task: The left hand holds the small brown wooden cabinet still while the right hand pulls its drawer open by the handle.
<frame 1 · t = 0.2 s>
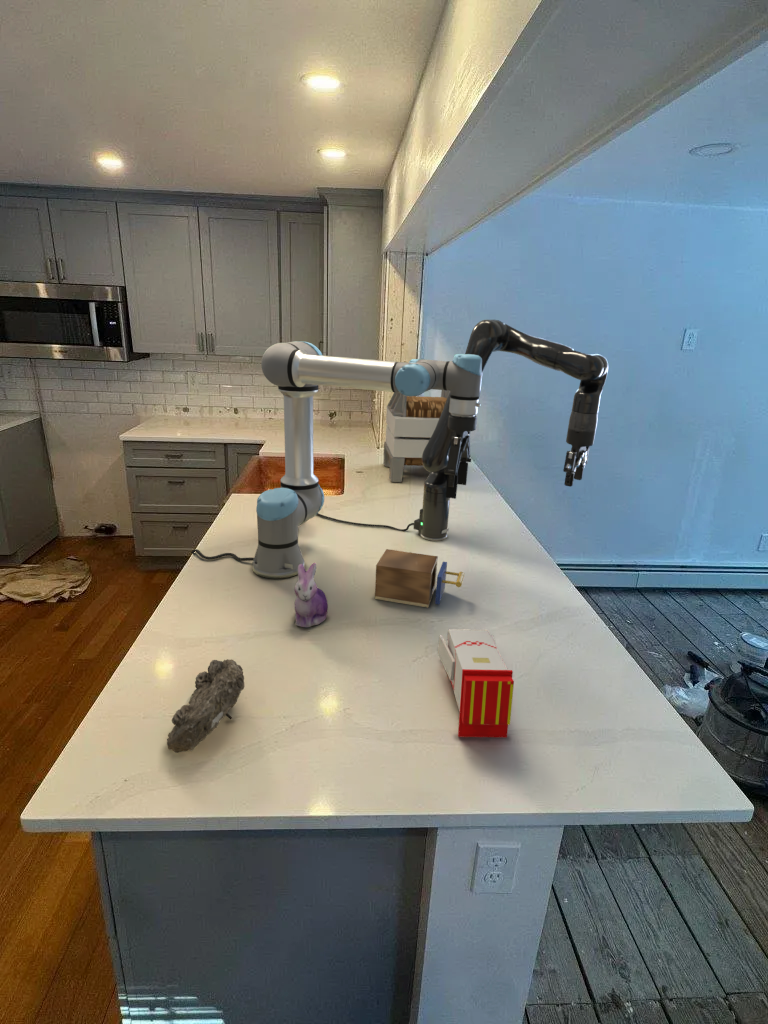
left hand: (456, 490, 158), 28 cm above the counter, tool pointing down, fingers open, 13 cm apart
right hand: (573, 482, 165), 29 cm above the counter, tool pointing down, fingers open, 8 cm apart
drawer: (428, 580, 155), point 5 cm above the counter, slide at 1.6 cm
figurine: (310, 619, 143), on the counter
fossil: (212, 717, 108), on the counter
toy: (469, 691, 119), on the counter
cabinet: (405, 593, 158), on the counter
transformer: (419, 473, 275), on the counter
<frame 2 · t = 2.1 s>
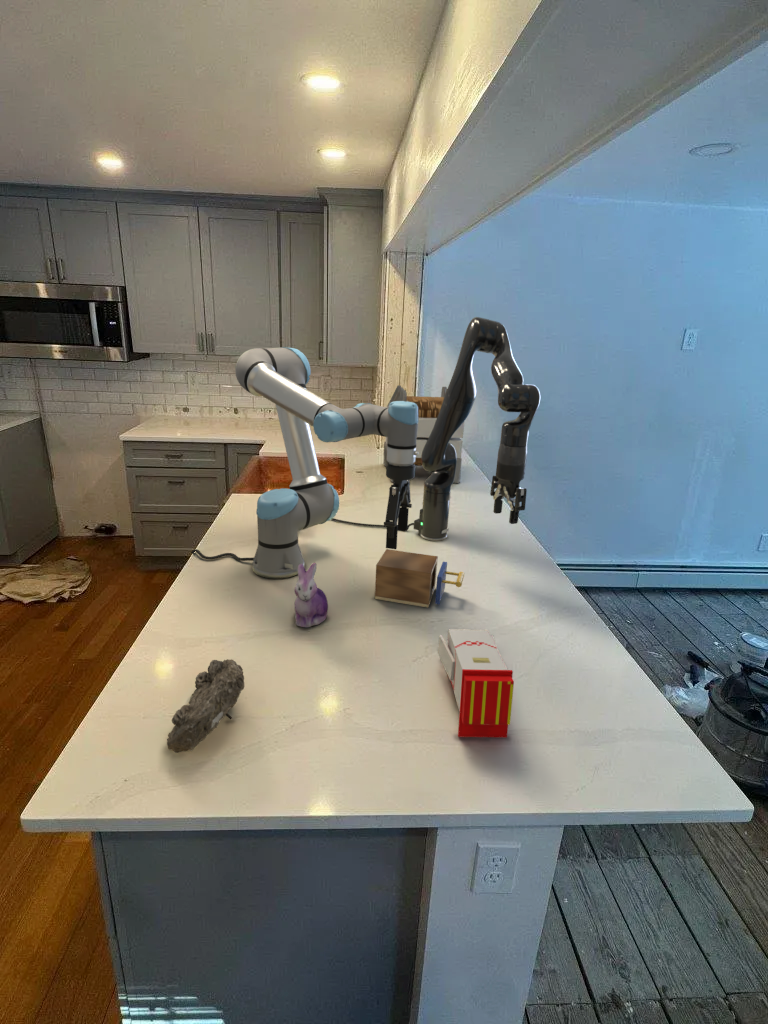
left hand: (397, 538, 153), 16 cm above the counter, tool pointing down, fingers open, 13 cm apart
right hand: (504, 518, 156), 22 cm above the counter, tool pointing down, fingers open, 8 cm apart
nothing on the counter moved.
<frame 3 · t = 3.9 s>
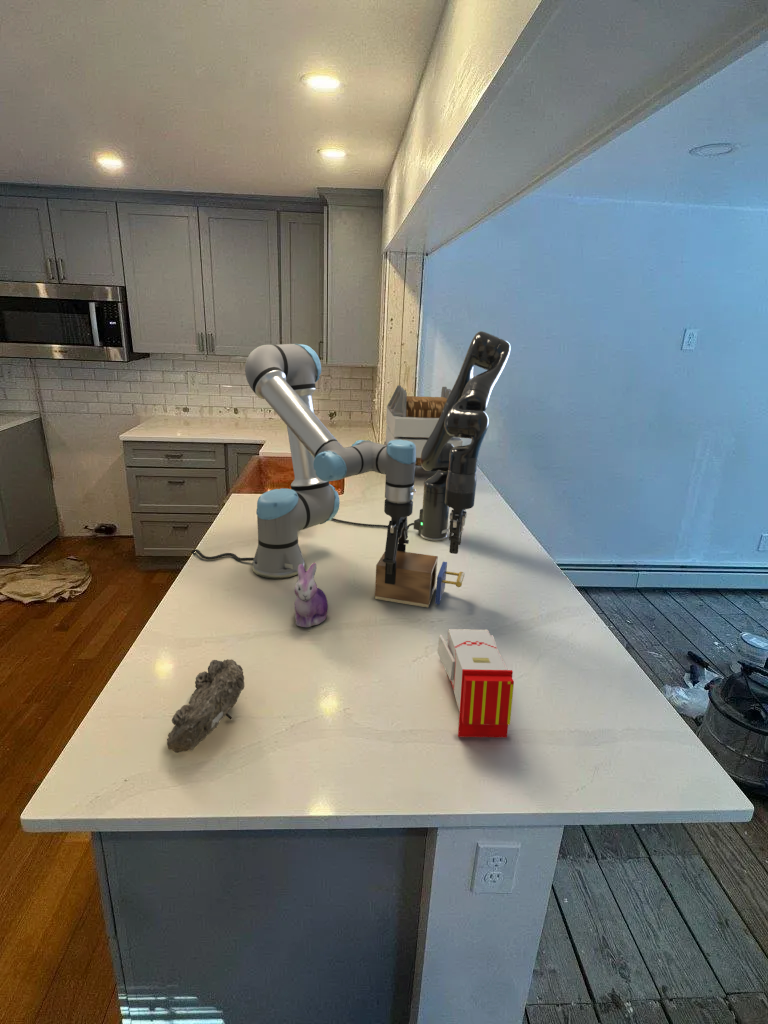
left hand: (394, 574, 157), 6 cm above the counter, tool pointing down, fingers closed on cabinet, 11 cm apart
right hand: (455, 548, 150), 16 cm above the counter, tool pointing down, fingers open, 5 cm apart
cabinet: (405, 593, 158), on the counter, touching left hand
everything else where it was.
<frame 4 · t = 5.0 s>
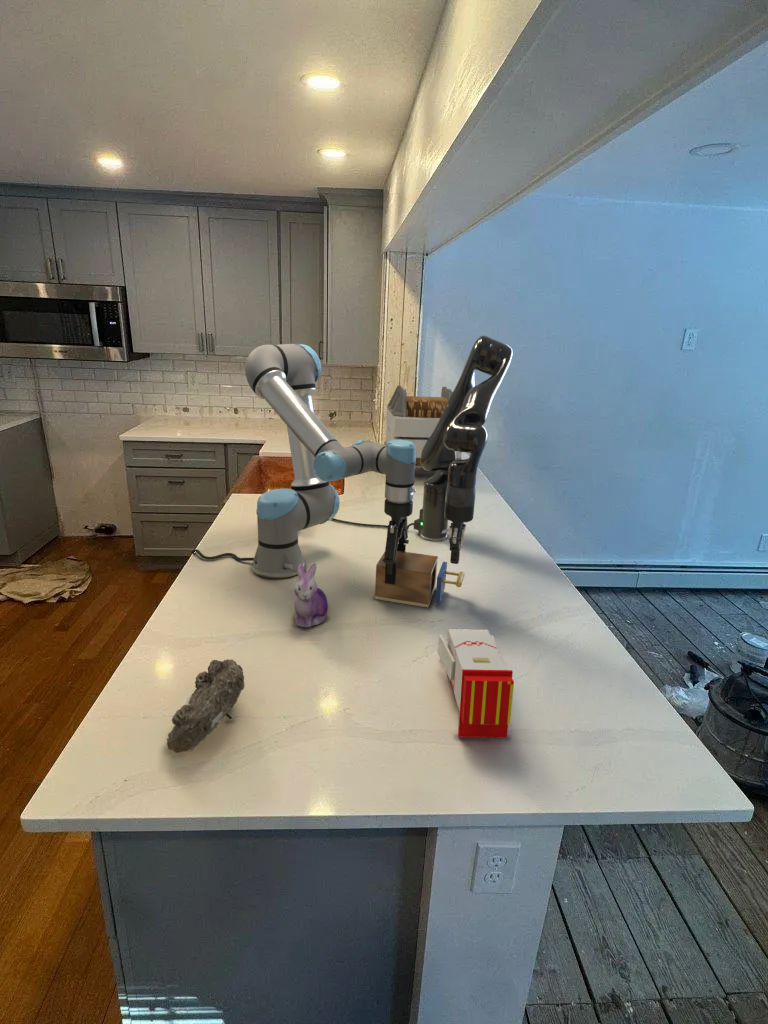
left hand: (394, 574, 157), 6 cm above the counter, tool pointing down, fingers closed on cabinet, 11 cm apart
right hand: (454, 562, 151), 12 cm above the counter, tool pointing down, fingers closed
cabinet: (405, 593, 158), on the counter, touching left hand
everything else where it was.
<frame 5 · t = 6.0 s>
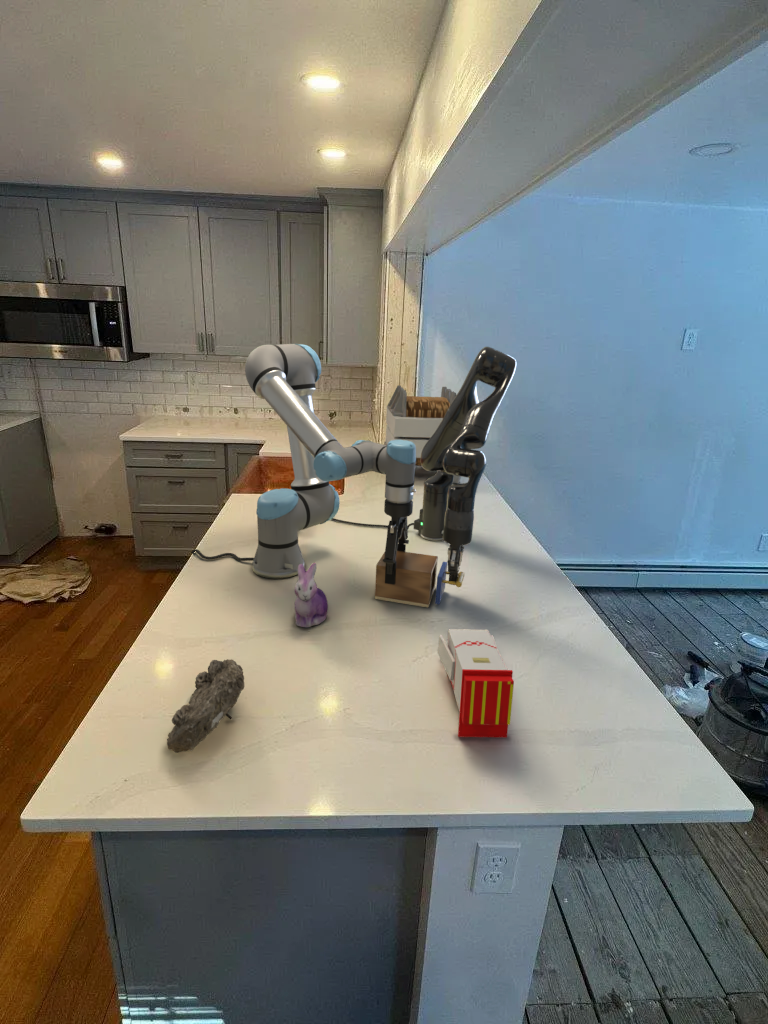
left hand: (395, 574, 157), 6 cm above the counter, tool pointing down, fingers closed on cabinet, 11 cm apart
right hand: (452, 583, 154), 5 cm above the counter, tool pointing down, fingers closed
drawer: (428, 580, 155), point 5 cm above the counter, slide at 1.6 cm, touching right hand
cabinet: (405, 593, 158), on the counter, touching left hand
everything else where it was.
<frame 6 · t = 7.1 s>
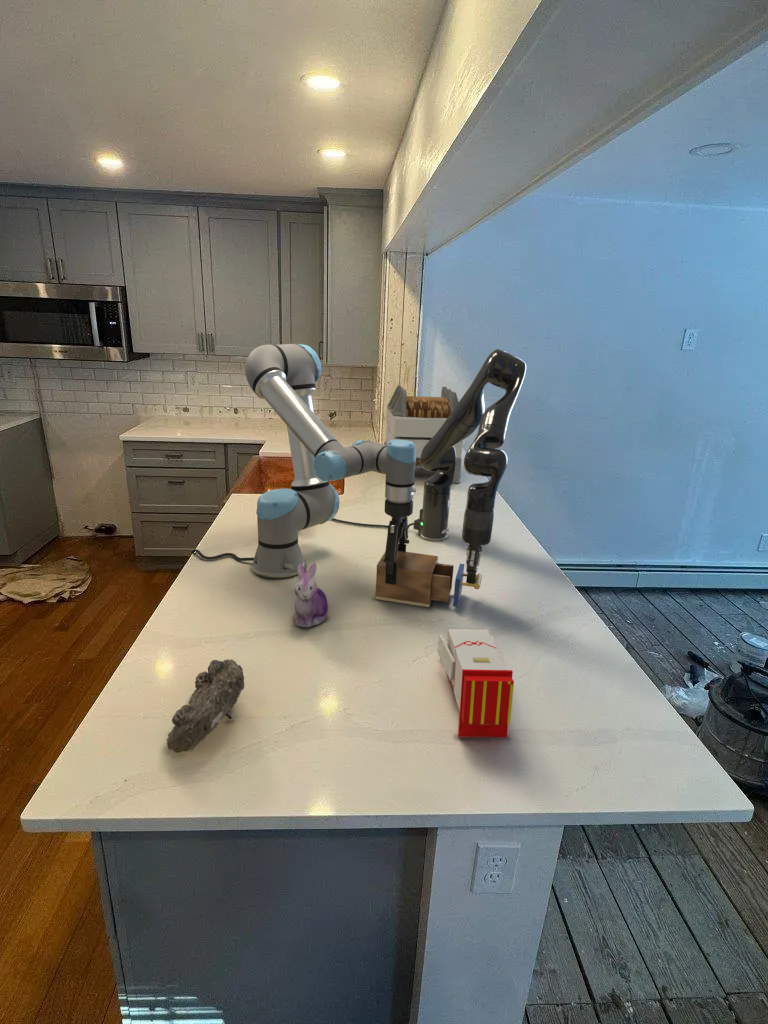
left hand: (395, 574, 157), 6 cm above the counter, tool pointing down, fingers closed on cabinet, 11 cm apart
right hand: (470, 583, 152), 6 cm above the counter, tool pointing down, fingers closed
drawer: (445, 582, 154), point 5 cm above the counter, slide at 6.2 cm
cabinet: (406, 593, 158), on the counter, touching left hand
everything else where it was.
when the left hand's fingers open (6 cm above the counter, at t = 8.5 s): cabinet stays where it is, on the counter.
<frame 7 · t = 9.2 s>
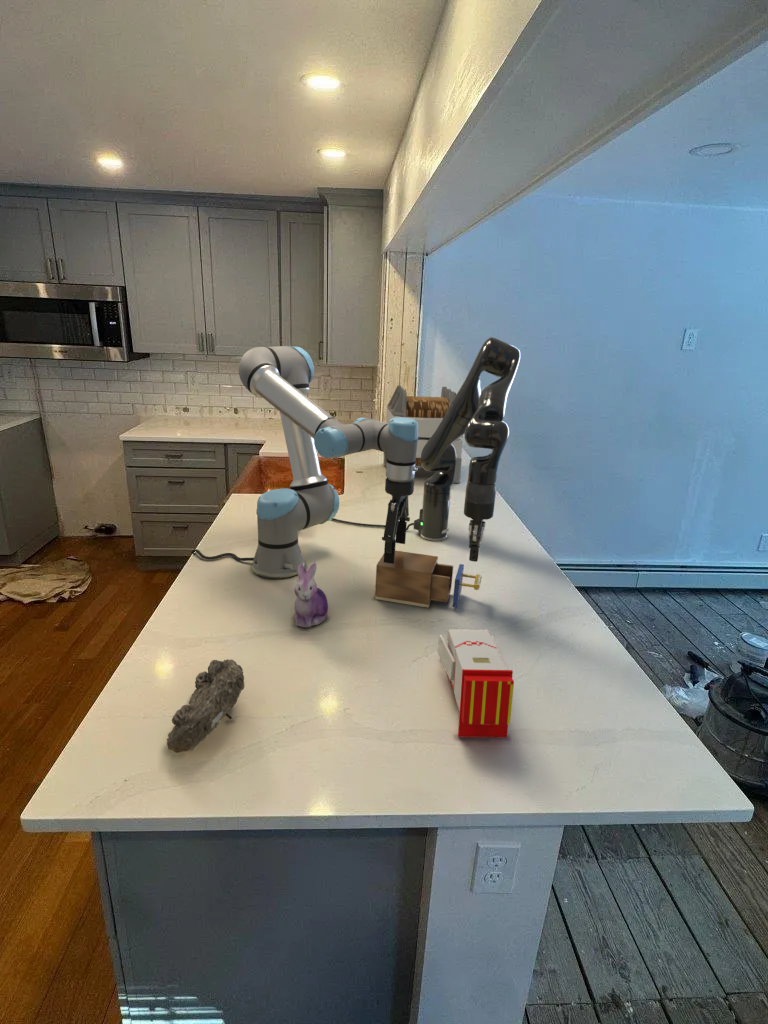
left hand: (394, 552, 155), 12 cm above the counter, tool pointing down, fingers open, 13 cm apart
right hand: (473, 560, 150), 13 cm above the counter, tool pointing down, fingers closed
cabinet: (405, 593, 158), on the counter
everything else where it was.
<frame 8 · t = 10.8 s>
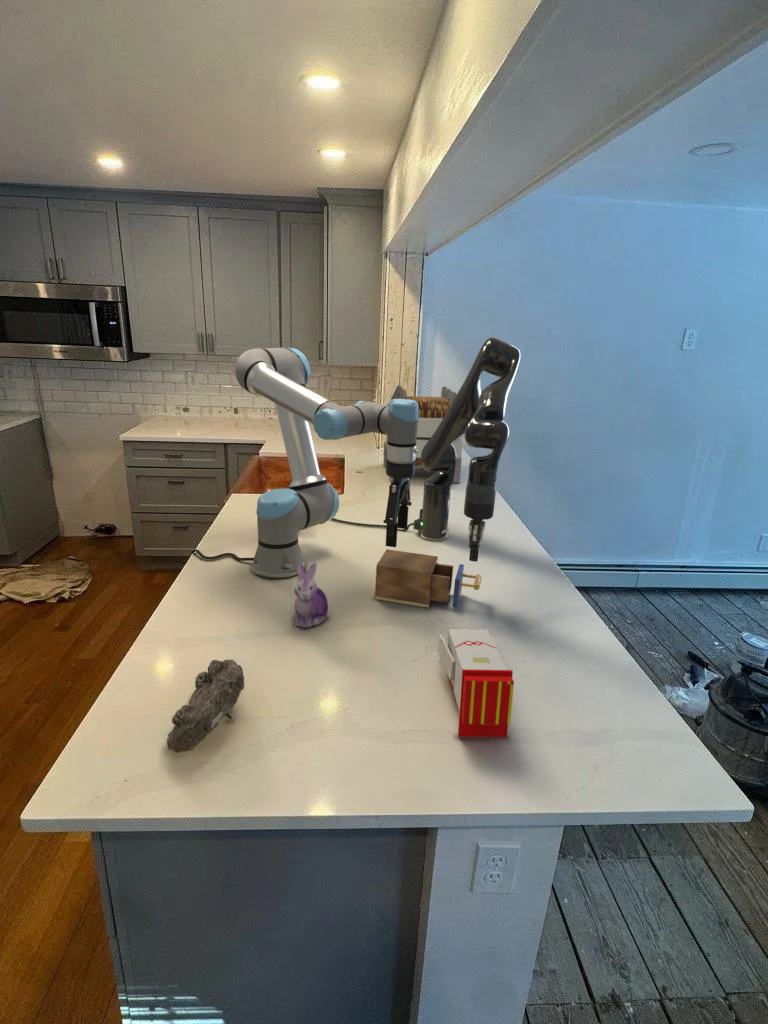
left hand: (396, 536, 153), 17 cm above the counter, tool pointing down, fingers open, 13 cm apart
right hand: (473, 560, 150), 13 cm above the counter, tool pointing down, fingers closed
nothing on the counter moved.
at the end: drawer slide at 6.2 cm; cabinet tilted 0°; cabinet never tilted more than 1° during the clip; cabinet moved 0.1 cm from its start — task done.
